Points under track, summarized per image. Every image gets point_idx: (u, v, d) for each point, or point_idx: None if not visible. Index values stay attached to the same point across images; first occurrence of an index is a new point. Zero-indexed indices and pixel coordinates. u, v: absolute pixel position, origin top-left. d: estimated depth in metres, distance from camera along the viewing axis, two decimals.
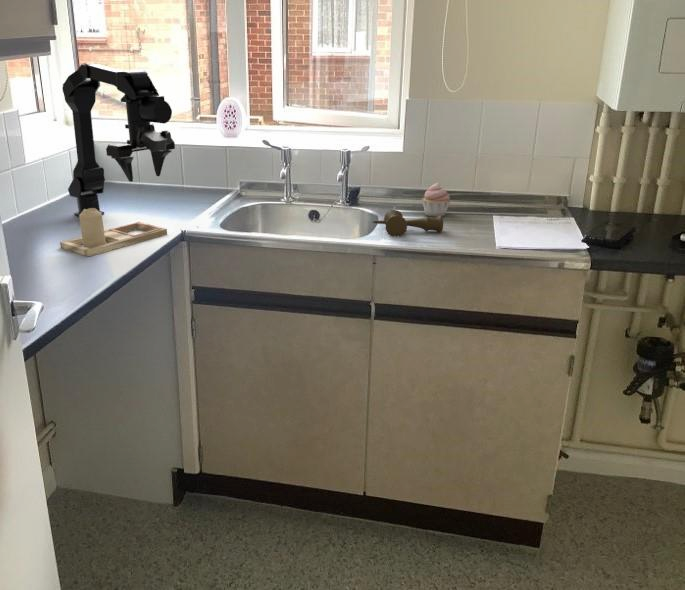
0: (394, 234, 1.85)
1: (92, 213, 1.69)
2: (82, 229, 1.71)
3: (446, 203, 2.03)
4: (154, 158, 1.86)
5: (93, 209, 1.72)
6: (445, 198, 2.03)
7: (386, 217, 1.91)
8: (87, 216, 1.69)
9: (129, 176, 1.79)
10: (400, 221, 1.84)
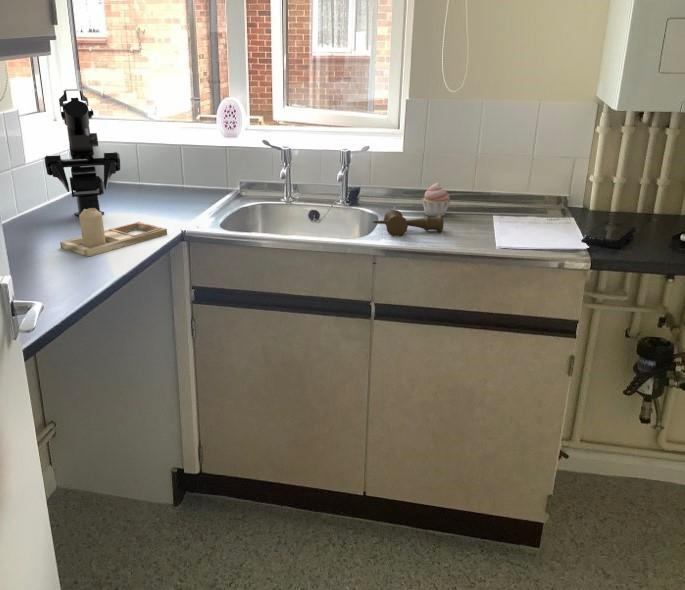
0: (395, 234, 1.85)
1: (92, 213, 1.69)
2: (82, 229, 1.71)
3: (446, 203, 2.03)
4: None
5: (93, 209, 1.72)
6: (445, 198, 2.03)
7: (387, 217, 1.91)
8: (87, 216, 1.69)
9: (65, 185, 1.75)
10: (401, 221, 1.84)
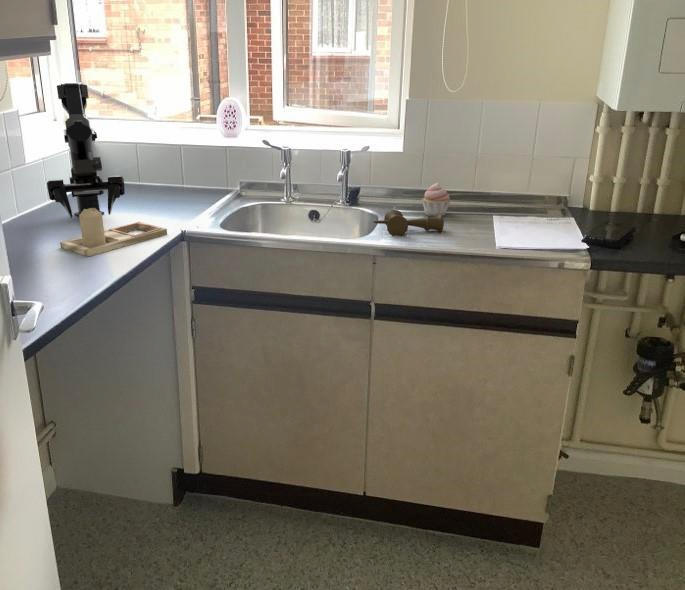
0: (395, 234, 1.85)
1: (92, 213, 1.69)
2: (82, 229, 1.71)
3: (446, 203, 2.03)
4: None
5: (93, 209, 1.72)
6: (445, 198, 2.03)
7: (387, 217, 1.91)
8: (87, 216, 1.69)
9: (68, 211, 1.70)
10: (402, 221, 1.84)
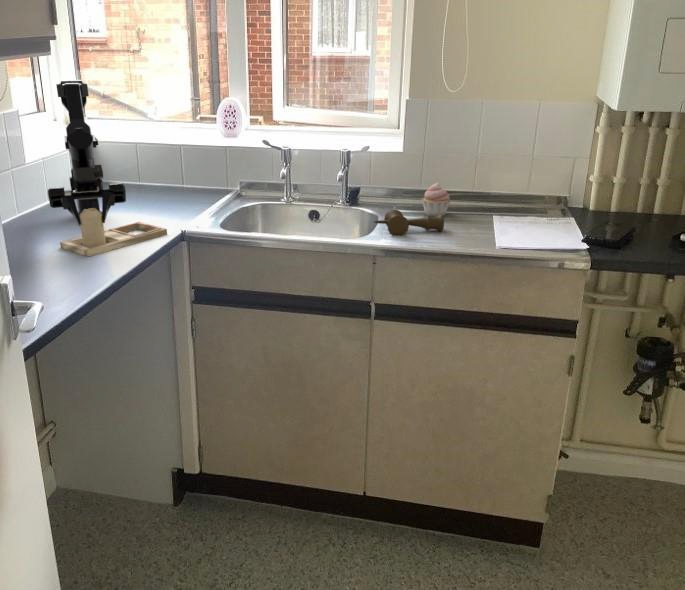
0: (396, 234, 1.86)
1: (92, 213, 1.69)
2: (82, 229, 1.71)
3: (446, 203, 2.03)
4: None
5: (93, 209, 1.72)
6: (445, 198, 2.03)
7: (387, 217, 1.91)
8: (87, 216, 1.69)
9: (76, 218, 1.70)
10: (402, 221, 1.84)
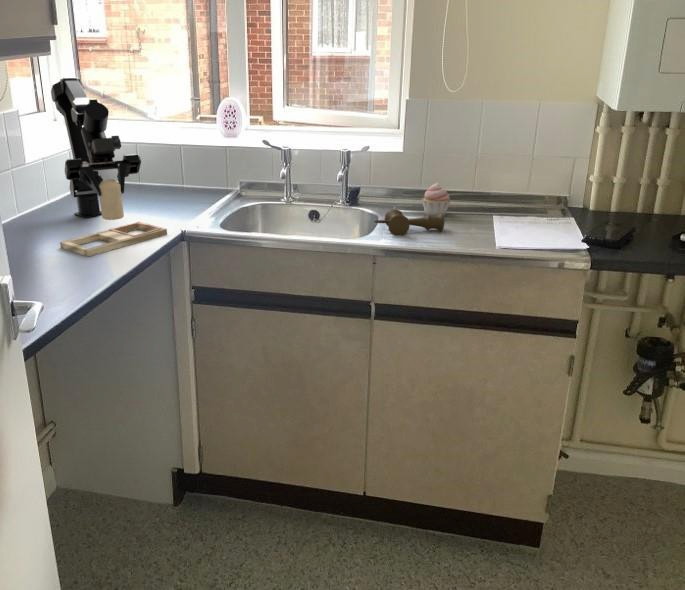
0: (397, 233, 1.86)
1: (112, 184, 1.72)
2: (102, 200, 1.72)
3: (446, 203, 2.03)
4: (118, 179, 1.77)
5: (111, 180, 1.74)
6: (445, 198, 2.03)
7: (387, 216, 1.92)
8: (108, 187, 1.71)
9: (96, 189, 1.71)
10: (403, 220, 1.85)
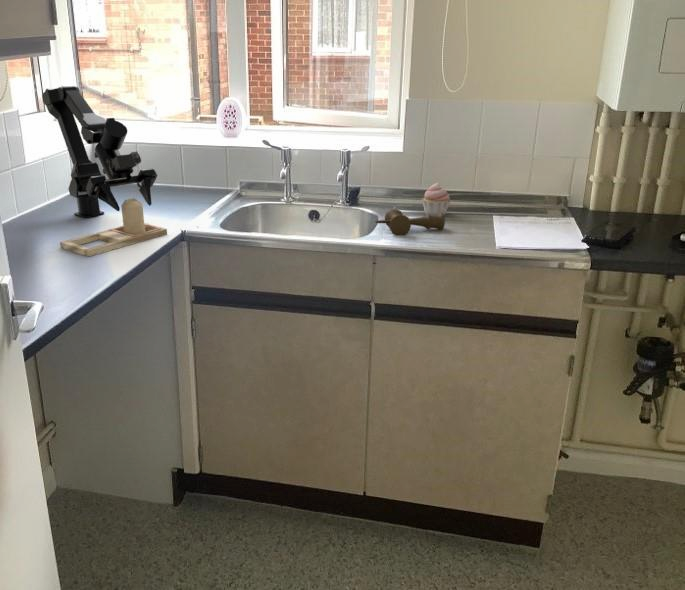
0: (398, 233, 1.86)
1: (136, 203, 1.80)
2: (126, 219, 1.80)
3: (446, 203, 2.03)
4: (142, 192, 1.85)
5: (132, 199, 1.82)
6: (445, 198, 2.03)
7: (388, 216, 1.92)
8: (132, 206, 1.79)
9: (114, 205, 1.77)
10: (405, 220, 1.85)
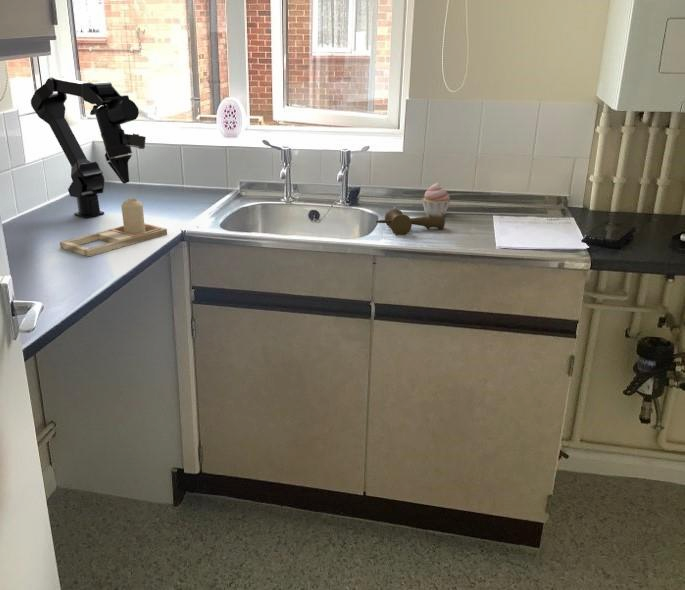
0: (399, 233, 1.86)
1: (136, 203, 1.80)
2: (127, 219, 1.80)
3: (446, 203, 2.03)
4: None
5: (132, 199, 1.82)
6: (445, 198, 2.03)
7: (388, 216, 1.92)
8: (132, 206, 1.79)
9: (127, 176, 1.85)
10: (406, 220, 1.85)
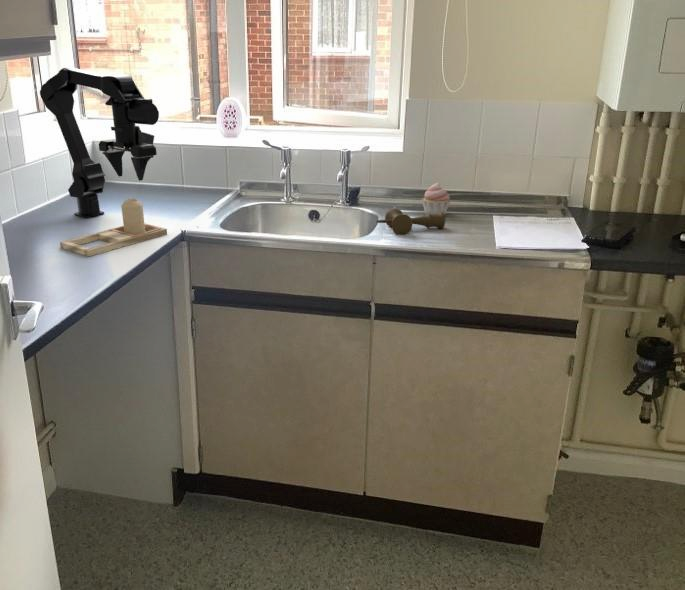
0: (400, 232, 1.87)
1: (136, 203, 1.80)
2: (126, 219, 1.80)
3: (446, 203, 2.03)
4: (114, 159, 1.92)
5: (132, 199, 1.82)
6: (445, 198, 2.03)
7: (388, 216, 1.92)
8: (132, 206, 1.79)
9: (142, 175, 1.89)
10: (406, 219, 1.86)
